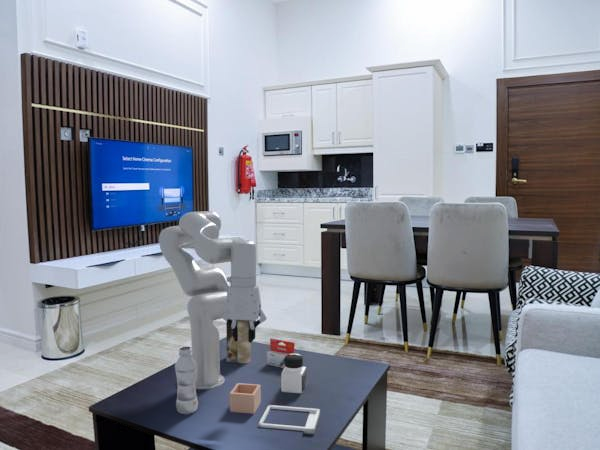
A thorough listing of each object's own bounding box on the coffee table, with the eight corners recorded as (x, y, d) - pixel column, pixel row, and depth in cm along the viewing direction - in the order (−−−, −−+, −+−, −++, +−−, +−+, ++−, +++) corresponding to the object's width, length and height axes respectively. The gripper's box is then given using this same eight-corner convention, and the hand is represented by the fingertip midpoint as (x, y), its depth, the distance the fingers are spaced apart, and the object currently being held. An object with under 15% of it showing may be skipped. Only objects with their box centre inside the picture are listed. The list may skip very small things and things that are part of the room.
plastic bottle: (187, 419, 143) (185, 353, 141) (171, 413, 146) (169, 349, 145) (202, 410, 148) (201, 347, 146) (186, 405, 152) (185, 343, 150)
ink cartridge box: (291, 370, 180) (291, 344, 179) (266, 364, 186) (266, 339, 185) (295, 367, 182) (295, 342, 181) (270, 362, 188) (270, 338, 187)
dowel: (236, 362, 147) (235, 321, 145) (240, 357, 150) (239, 317, 149) (248, 363, 146) (248, 321, 144) (252, 358, 150) (252, 317, 148)
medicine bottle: (302, 395, 159) (302, 360, 157) (281, 393, 160) (280, 358, 159) (306, 386, 166) (306, 352, 164) (286, 384, 167) (285, 351, 166)
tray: (258, 429, 137) (258, 424, 137) (268, 409, 149) (268, 404, 149) (314, 434, 134) (314, 429, 134) (320, 413, 146) (320, 409, 146)
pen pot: (230, 414, 146) (229, 393, 146) (237, 402, 154) (237, 383, 153) (254, 416, 145) (254, 395, 144) (260, 404, 152) (260, 384, 152)
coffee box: (226, 362, 188) (225, 322, 186) (227, 356, 194) (226, 317, 193) (249, 362, 188) (249, 321, 187) (250, 356, 195) (250, 317, 193)
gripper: (212, 283, 143) (213, 343, 145) (267, 285, 140) (267, 346, 142) (221, 277, 151) (222, 335, 153) (273, 280, 148) (273, 338, 150)
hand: (244, 340), depth 147 cm, fingers closed on dowel, 4 cm apart
